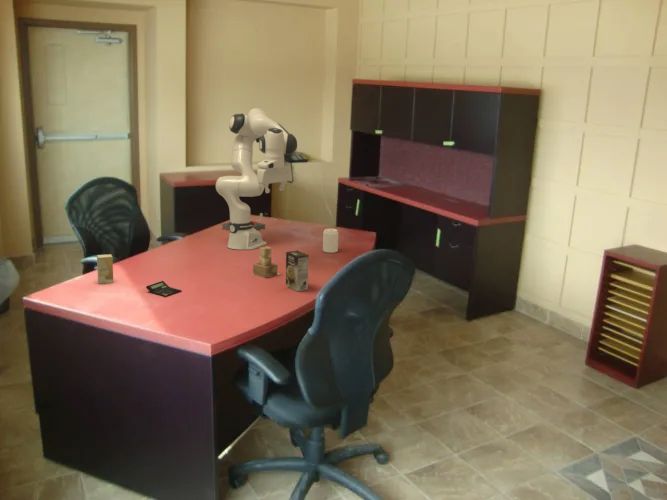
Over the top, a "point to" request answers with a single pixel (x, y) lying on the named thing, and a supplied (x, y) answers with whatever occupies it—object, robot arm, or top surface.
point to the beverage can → (330, 240)
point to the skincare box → (105, 268)
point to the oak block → (265, 256)
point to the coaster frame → (257, 226)
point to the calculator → (162, 289)
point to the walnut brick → (265, 270)
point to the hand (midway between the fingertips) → (274, 191)
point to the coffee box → (297, 270)
